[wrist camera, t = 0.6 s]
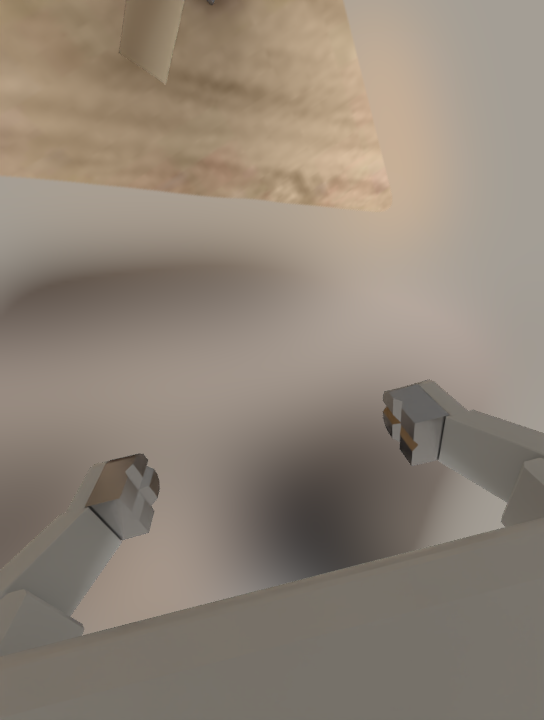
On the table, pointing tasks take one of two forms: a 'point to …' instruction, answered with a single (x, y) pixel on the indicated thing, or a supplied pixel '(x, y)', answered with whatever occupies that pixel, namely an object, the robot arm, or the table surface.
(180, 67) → the table surface
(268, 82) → the table surface
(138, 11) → the tan brown bar
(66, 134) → the table surface
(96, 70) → the table surface
